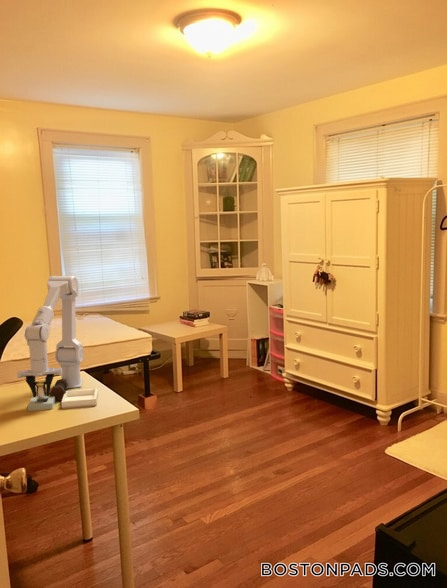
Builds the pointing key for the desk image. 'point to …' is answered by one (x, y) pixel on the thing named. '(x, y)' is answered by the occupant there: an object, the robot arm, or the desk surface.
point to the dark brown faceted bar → (59, 389)
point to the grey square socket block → (41, 404)
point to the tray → (80, 398)
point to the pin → (41, 390)
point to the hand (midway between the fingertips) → (41, 395)
